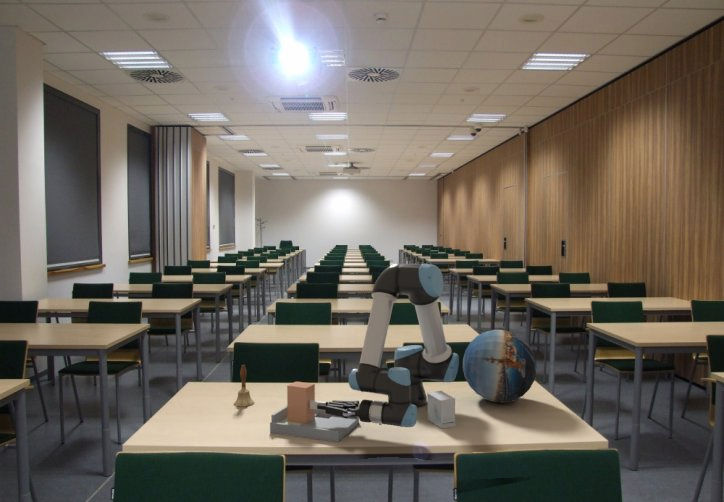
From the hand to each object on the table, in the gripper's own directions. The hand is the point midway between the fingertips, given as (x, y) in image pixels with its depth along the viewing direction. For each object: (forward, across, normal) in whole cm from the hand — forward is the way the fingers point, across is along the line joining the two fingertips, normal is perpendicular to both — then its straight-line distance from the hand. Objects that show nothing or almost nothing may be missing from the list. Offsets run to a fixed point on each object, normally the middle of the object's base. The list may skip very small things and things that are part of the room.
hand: (310, 404), depth 199 cm
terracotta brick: (+4, +1, -6) cm, 8 cm away
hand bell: (+38, +16, -9) cm, 42 cm away
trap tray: (-2, +1, -8) cm, 9 cm away
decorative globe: (-61, +56, -9) cm, 83 cm away
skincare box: (-43, +21, -9) cm, 49 cm away
